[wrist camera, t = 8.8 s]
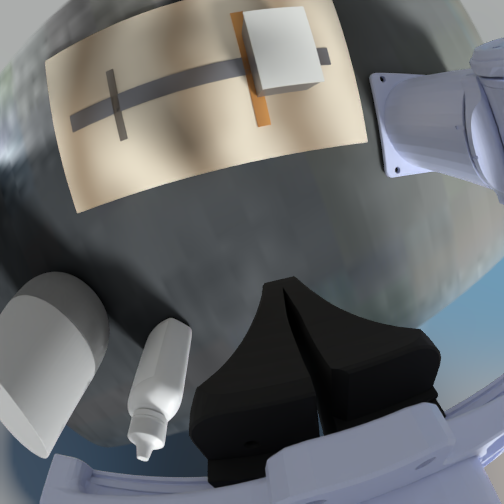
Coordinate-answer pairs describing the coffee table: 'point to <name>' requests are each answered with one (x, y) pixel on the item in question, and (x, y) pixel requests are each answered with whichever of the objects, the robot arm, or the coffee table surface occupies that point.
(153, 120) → the console
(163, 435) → the eye dropper bottle
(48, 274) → the smart speaker
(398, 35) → the coffee table surface
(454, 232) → the coffee table surface
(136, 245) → the coffee table surface
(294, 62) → the fader tab
